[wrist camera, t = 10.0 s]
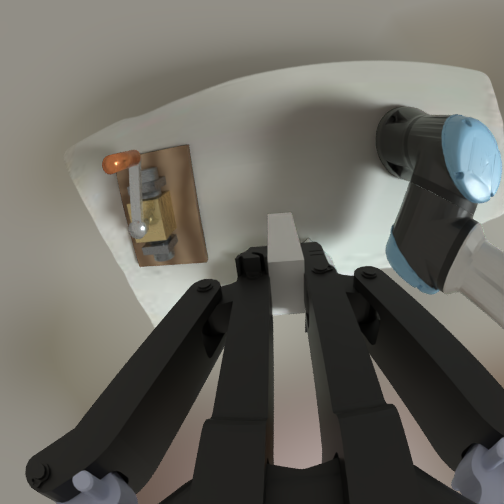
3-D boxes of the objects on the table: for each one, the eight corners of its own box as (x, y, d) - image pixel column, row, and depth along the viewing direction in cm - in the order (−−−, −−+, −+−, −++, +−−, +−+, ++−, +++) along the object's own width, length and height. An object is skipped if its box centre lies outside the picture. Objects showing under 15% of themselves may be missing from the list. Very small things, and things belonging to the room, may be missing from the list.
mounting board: (188, 144, 47) (186, 144, 46) (208, 259, 57) (206, 262, 56) (117, 160, 49) (114, 161, 47) (142, 263, 59) (139, 266, 57)
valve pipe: (165, 164, 48) (146, 172, 40) (182, 250, 55) (169, 271, 47) (136, 170, 48) (114, 179, 40) (154, 253, 56) (139, 272, 48)
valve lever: (149, 236, 44) (127, 258, 37) (133, 234, 44) (110, 256, 37) (145, 148, 38) (119, 154, 30) (128, 149, 38) (100, 155, 30)
